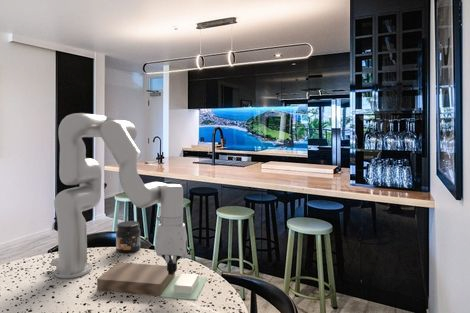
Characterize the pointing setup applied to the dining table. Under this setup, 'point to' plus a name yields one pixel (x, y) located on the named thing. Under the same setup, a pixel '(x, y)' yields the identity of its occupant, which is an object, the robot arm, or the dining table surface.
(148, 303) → the dining table surface
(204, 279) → the mat
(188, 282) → the white rectangular block
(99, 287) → the deck
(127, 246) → the supplement container
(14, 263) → the dining table surface
